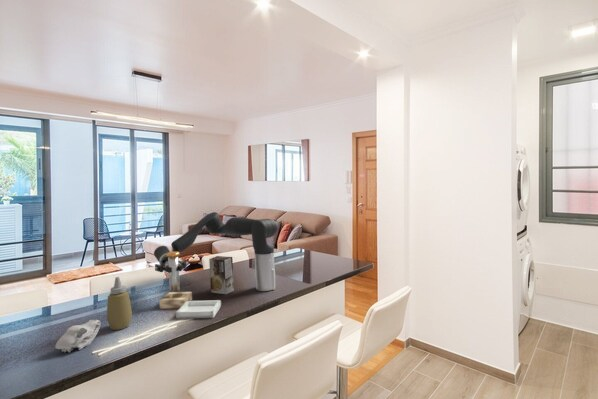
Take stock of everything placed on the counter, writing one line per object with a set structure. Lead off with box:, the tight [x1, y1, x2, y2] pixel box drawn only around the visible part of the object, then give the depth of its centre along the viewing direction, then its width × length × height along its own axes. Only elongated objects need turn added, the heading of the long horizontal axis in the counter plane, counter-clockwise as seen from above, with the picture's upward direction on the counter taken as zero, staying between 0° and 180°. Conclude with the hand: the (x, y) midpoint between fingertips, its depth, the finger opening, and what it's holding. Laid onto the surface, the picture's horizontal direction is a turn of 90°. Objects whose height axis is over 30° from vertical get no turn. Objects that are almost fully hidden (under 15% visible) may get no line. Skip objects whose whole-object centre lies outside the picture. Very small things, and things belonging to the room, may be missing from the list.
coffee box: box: [208, 255, 235, 295], centre depth 155 cm, size 9×6×16 cm
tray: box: [175, 299, 222, 320], centre depth 130 cm, size 14×12×2 cm
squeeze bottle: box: [106, 276, 133, 331], centre depth 118 cm, size 8×8×18 cm
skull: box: [54, 319, 102, 353], centre depth 105 cm, size 8×9×12 cm
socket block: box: [158, 291, 193, 309], centre depth 140 cm, size 10×10×4 cm
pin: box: [166, 251, 181, 292], centre depth 140 cm, size 5×5×16 cm
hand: (174, 269), depth 137 cm, fingers closed on pin, 4 cm apart
